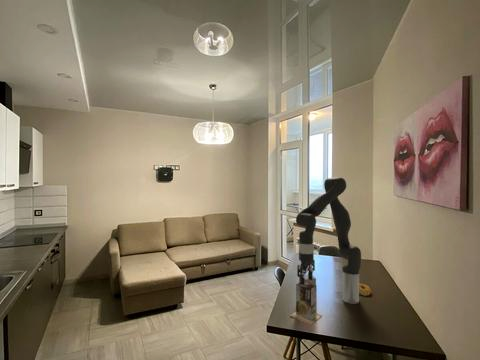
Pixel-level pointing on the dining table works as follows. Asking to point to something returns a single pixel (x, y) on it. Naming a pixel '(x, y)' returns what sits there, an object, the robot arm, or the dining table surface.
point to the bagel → (364, 290)
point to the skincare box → (309, 280)
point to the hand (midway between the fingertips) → (306, 281)
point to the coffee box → (306, 300)
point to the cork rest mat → (305, 318)
